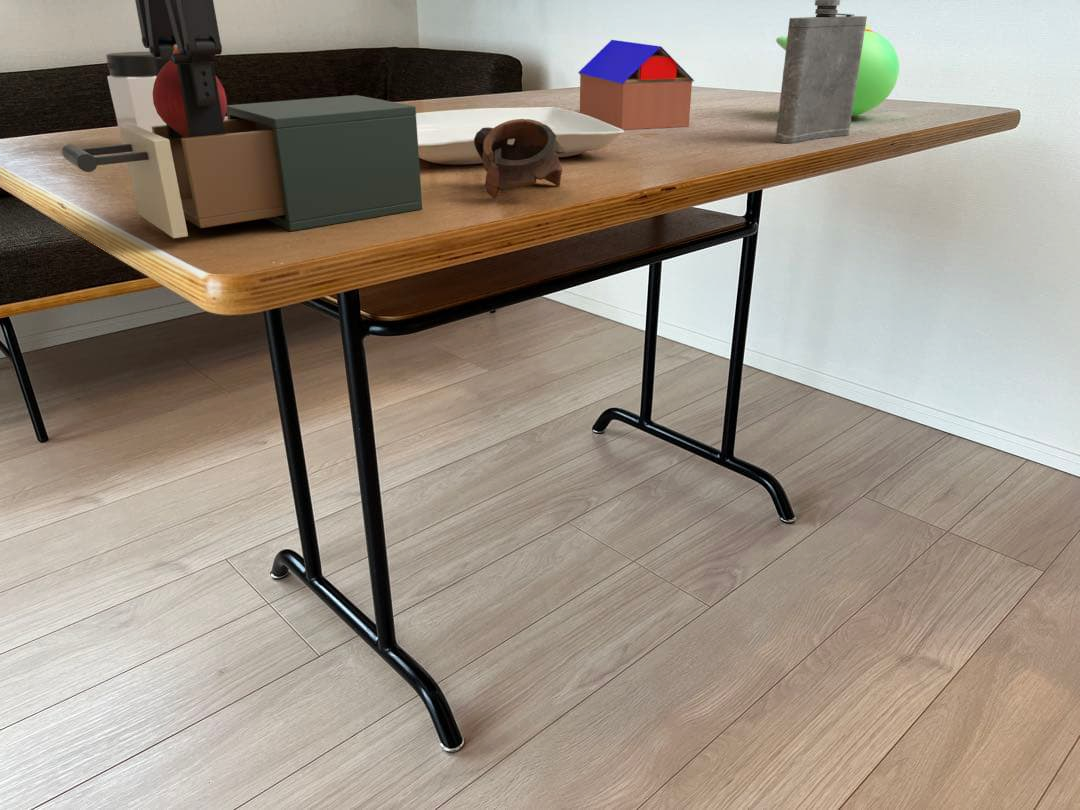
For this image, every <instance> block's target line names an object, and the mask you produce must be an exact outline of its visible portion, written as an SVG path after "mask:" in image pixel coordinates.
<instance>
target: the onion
mask: <svg viewBox="0 0 1080 810" xmlns="http://www.w3.org/2000/svg"><path fill="white" fill-rule="evenodd" d="M173 48H174V50H173V55H174V54H179V51H178V48H177V44H176V45H174V47H173ZM216 81H217V87H218V93H219V99H220V106H221V112H222V118H223V121H224V120H225V117H226V116H227V105H228V99H227V96H226V92H225V89H224V86H223V84H222V82H221V80H220V79H219V78H218V76H216ZM153 103H154V106H155V109H156V111H157V114H158V115H159V116H160V117H161V119H162V120H163V121H164V122H165V123H166V124H167V125H169V126H170V127H171V128H172V129H174V130H175V131H176V132H178V133H179V134H180V135H182V136H183V137H184V138H189V137H190V135H189V129H188V124H187V118H186V113H185V107H184V102H183V96H182V91H181V85H180V80H179V74H178V69H177V64H173V63H172V61H171V60H170V61H168V62H167V63H166V64H165V65H164V66H163V68H162V69H161V70H160V72H159V73H158V75H157V77H156V80H155V82H154V87H153Z"/></svg>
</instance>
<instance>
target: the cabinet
mask: <svg viewBox="0 0 1080 810" xmlns="http://www.w3.org/2000/svg"><path fill="white" fill-rule="evenodd" d="M416 108H417V107H416V106H415V105H412V104H411V105H410V104H407V103H401V102H396V101H391V100H385V99H379V98H375V97H374V98H373V97H370V96H368V97H367V96H362V95H359V94H354V95H342V96H328V97H315V98H314V97H313V98H303V99H302V98H301V99H289V100H277V101H276V100H275V101H264V102H251V103H241V104H240V103H239V104H227V112H226V117H227V120H229V119H240V118H242V119H245V120H249V121H252V122H256V123H259V124H262V125H266V126H269V127H273V133H274V140H275V147H276V154H277V161H278V168H279V175H280V182H281V189H282V196H283V203H284V210H285V215H282V216H276V217H270V218H264V219H265V220H267V221H269V222H270V223H273V224H275V225H277V226H279V227H281V228H283V229H285V230H287V231H289V232H296V231H302V230H308V229H313V228H319V227H325V226H326V227H327V226H331V225H337V224H342V223H349V222H355V221H361V220H366V219H372V218H379V217H383V216H389V215H395V214H402V213H408V212H415V211H419V210H423V197H422V183H421V167H420V158H419V152H418V137H417V122H416V113H417V109H416Z"/></svg>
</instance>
